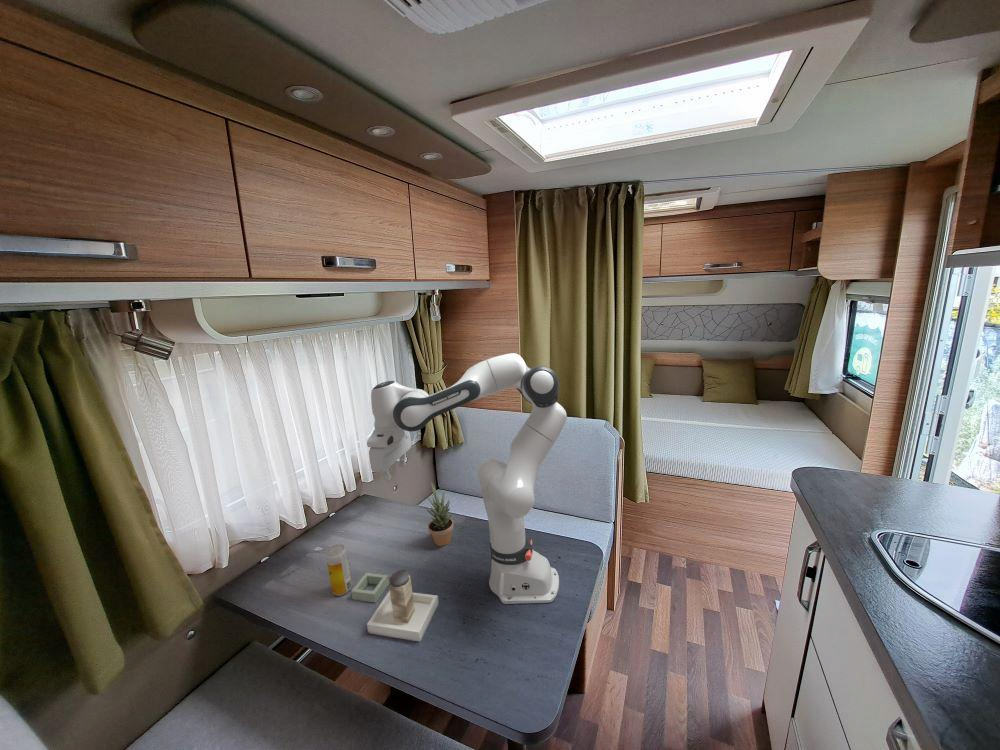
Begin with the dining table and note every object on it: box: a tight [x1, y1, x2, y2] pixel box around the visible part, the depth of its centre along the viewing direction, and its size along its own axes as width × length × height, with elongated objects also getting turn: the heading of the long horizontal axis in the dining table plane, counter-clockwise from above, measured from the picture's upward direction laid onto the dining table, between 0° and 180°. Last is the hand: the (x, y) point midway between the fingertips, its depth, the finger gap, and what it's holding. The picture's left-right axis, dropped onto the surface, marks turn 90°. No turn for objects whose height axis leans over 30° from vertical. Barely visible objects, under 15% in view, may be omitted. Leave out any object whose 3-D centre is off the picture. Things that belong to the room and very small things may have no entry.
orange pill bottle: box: [325, 543, 353, 597], centre depth 123 cm, size 6×6×15 cm
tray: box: [366, 590, 440, 642], centre depth 111 cm, size 16×13×3 cm
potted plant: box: [426, 482, 454, 547], centre depth 143 cm, size 10×10×25 cm
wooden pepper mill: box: [388, 569, 415, 623], centre depth 110 cm, size 5×5×13 cm
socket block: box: [350, 572, 390, 604], centre depth 123 cm, size 8×8×3 cm
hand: (395, 472), depth 123 cm, fingers open, 8 cm apart
